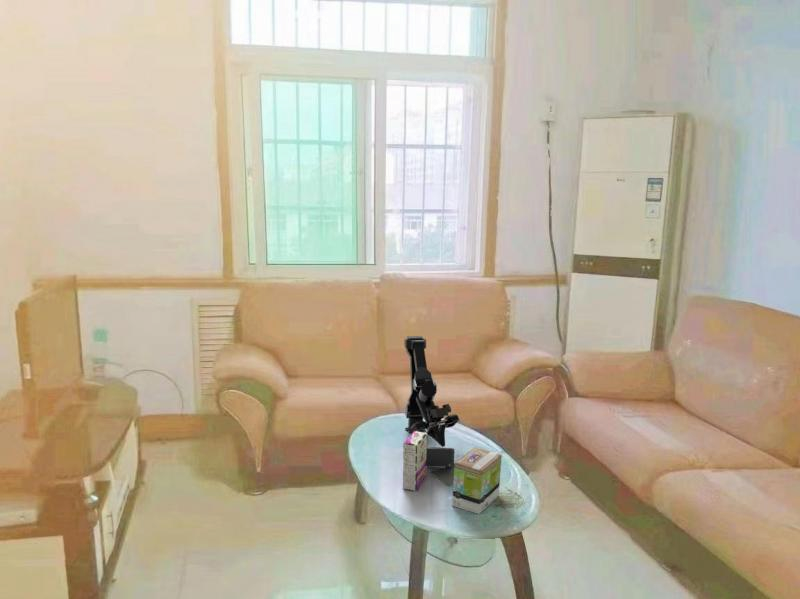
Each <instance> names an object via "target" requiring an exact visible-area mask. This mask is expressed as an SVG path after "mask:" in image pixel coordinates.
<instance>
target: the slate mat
mask: <svg viewBox="0 0 800 599" xmlns="http://www.w3.org/2000/svg"><path fill="white" fill-rule="evenodd" d="M454 467H455V464H454V466H453V467H439V468H437V469H433V470H429V471H428V472H429V473H430V474H431V475H433V476H434V477H436V479H437V480H439V481H440V482H442V483H443V484H445V485H446V486H447V487H453V482H454Z"/></svg>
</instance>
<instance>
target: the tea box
mask: <svg viewBox="0 0 800 599" xmlns="http://www.w3.org/2000/svg"><path fill="white" fill-rule="evenodd" d="M502 457H503V456H502V454H500V453H498V452H494V451H489V450H486V449H482V448H480V447H476V446H475V447H473V448H472V449H471V450H470V451H468V452H467V453H466V454H464V455H463V456H462V457H460V458H459V459H458V460H456V461H454V465H455V467H454V482H453V485H452V500H451V506H453V507H455V508H458V509H461V510H463V511H467V512H470V511H471V512H470V513H473V512H474V513H473V514H476V513H477V515H480V514H481V513H482V512H483V511H484V510H485V509H486V508H488V507H489V505H490V504H492V503H493V501H494V500H496V499H497V498H498V497H499V495H500V483H501V473H502V472H501V471H502V470H501V469H502V468H501V467H502ZM497 496H498V497H497ZM495 498H496V499H495Z"/></svg>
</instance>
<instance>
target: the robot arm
mask: <svg viewBox="0 0 800 599" xmlns="http://www.w3.org/2000/svg"><path fill="white" fill-rule="evenodd" d="M403 342H404V343H403V344H404V348H405V351H406V354H407V355H408V357H409V360H410V362H409V365H410V369H409V370H410V395H409V397H408V399H407V403H406V404H405V408H404V415H405V417H406V418H405V419H408V420H407V421H408V423H407V424H408V425H407V426H408V427H407V426H406V427H405V428H404V430H405V429H406V430H405V431H407V430H408V431H409V433H410V435H411V434H412V433H413V432H414V431H418V432H424V433H427V436H429V437H431V438H432V439H433V440H434V441H435V442H437V443H438V444H439V445H440V447H441V448H445V446H446V436H445V435H446V434H445V432H446V429H448V428H453V427H454V426H456V424H458V422H460V417H459V416H458V414H456V413H455V414H449V413H451V412H452V407H451V406H450V403H446V404H445V403H444V404H443V405H442V407H441V408H440V407H439V405H438V404H437V405H436V404H435V401H434V399H435V397H436V395H437V392H438V389H437V387H438V386H437V384H436V382H435V380H434V378H433V376H432V372H431V371H429V370H428V367H427V366H428V364H427V358H426V353H425V349H427V339H426V338H424V337H423V336H422V335H408V336H406V338H404V341H403ZM445 416H446V417H445ZM443 418H444V419H443ZM408 431H407V432H408Z"/></svg>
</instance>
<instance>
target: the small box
mask: <svg viewBox="0 0 800 599" xmlns="http://www.w3.org/2000/svg"><path fill="white" fill-rule="evenodd" d="M426 455H427V456H426V467H434V468H435V467H437V468H444V467H453V466H454V465H455V448H453V447H452V448H451V447H441V446H440V447H439V446H438V447H437V446H436V447H435V446H434V447H433V446H431V447H430V446H427V454H426Z"/></svg>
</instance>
